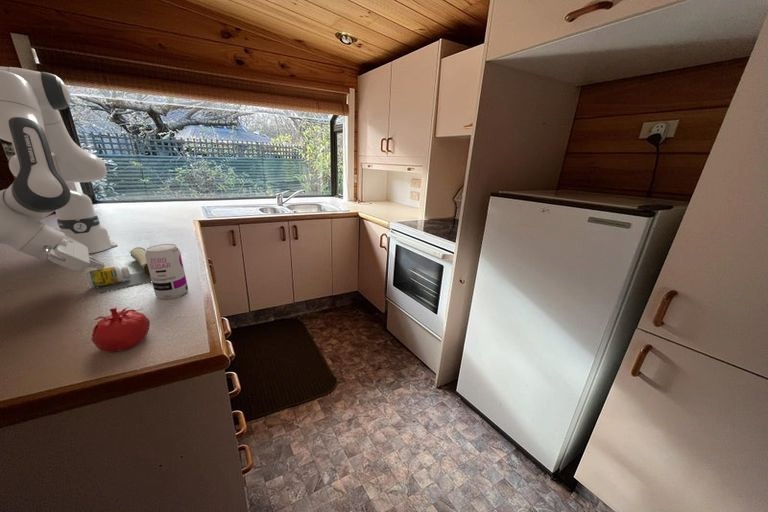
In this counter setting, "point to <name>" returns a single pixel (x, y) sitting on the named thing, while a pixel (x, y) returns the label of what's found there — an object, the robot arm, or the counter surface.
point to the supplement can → (166, 271)
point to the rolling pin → (140, 258)
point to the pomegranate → (120, 330)
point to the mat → (127, 282)
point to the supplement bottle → (107, 276)
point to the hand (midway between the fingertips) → (103, 267)
